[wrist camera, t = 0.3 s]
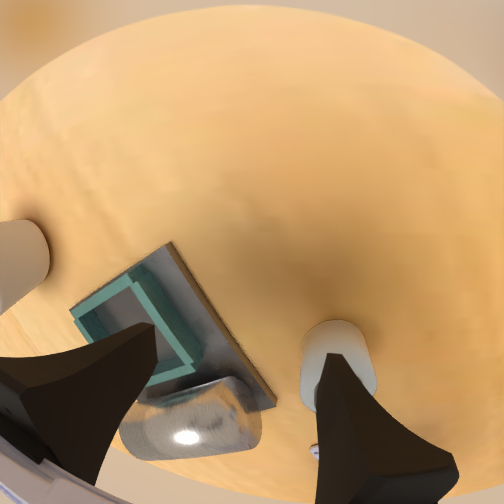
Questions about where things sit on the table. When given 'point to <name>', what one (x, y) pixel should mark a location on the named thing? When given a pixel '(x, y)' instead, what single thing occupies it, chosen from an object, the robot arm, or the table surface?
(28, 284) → the cup
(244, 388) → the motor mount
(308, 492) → the table surface
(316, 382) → the grey capped cylinder
